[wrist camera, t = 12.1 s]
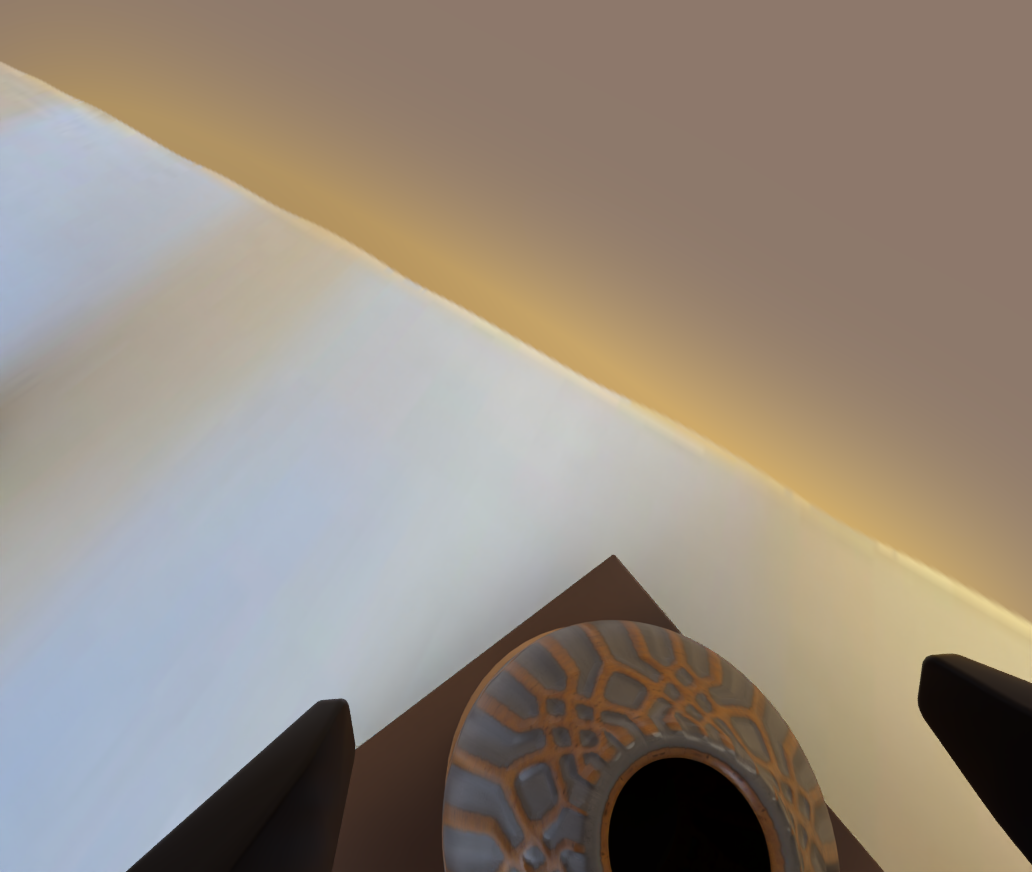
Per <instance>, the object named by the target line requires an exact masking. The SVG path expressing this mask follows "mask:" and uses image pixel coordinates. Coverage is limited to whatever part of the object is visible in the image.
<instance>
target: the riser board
mask: <svg viewBox="0 0 1032 872" xmlns="http://www.w3.org/2000/svg"><path fill="white" fill-rule="evenodd" d="M599 620H625V621H634V622H641V623H646V624H651V625H655V626H658V627H662V628H665V629H668V630H671V631H674V632H676V633H679V634H681V635H682V633H681V632H680V631H679V630H678V629H677V627H676V626H675V625H674V624H673V623H672V622H671V620H670V619H669V618H668V617H667V616H666V615H665V613H664V612H663V611H662V610H661V609H660V607H659V606H658V605H657V604H656V603H655V602H654V600H653V599H652V598H651V597H650V596H649V595H648V593H647V592H646V591H645V590H644V589H643V587H642V586H641V585H640V584H639V583H638V582H637V580H636V579H635V578H634V577H633V576H632V575H631V573H630V572H629V571H628V570H627V569H626V567H625V566H624V565H623V564H622V563H621V562H620V560H619V559H618V558H617V557H616V556H615V555H612V556H610V557H609V558H608V559H606V560H605V561H604V562H602V563H601V564H600V565H598V566H597V567H596V568H594V569H593V570H592V571H590V572H589V573H588V574H586V575H585V576H584V577H583V578H581V579H580V580H579V581H577V582H576V583H575V584H573V585H572V586H571V587H569V588H568V589H567V590H565V591H564V592H563V593H561V594H560V595H559V596H557V597H556V598H555V599H553V600H552V601H551V602H550V603H548V604H547V605H546V606H544V607H543V608H542V609H540V610H539V611H538V612H536V613H535V614H534V615H532V616H531V617H530V618H528V619H527V620H526V621H524V622H523V623H522V624H520V625H519V626H518V627H517V628H515V629H514V630H513V631H511V632H510V633H509V634H507V635H506V636H505V637H503V638H502V639H501V640H499V641H498V642H497V643H495V644H494V645H493V646H491V647H490V648H489V649H487V650H486V651H485V652H484V653H482V654H481V655H480V656H478V657H477V658H476V659H474V660H473V661H472V662H470V663H469V664H468V665H466V666H465V667H464V668H462V669H461V670H460V671H458V672H457V673H456V674H454V675H453V676H452V677H451V678H449V679H448V680H447V681H445V682H444V683H443V684H441V685H440V686H439V687H437V688H436V689H435V690H433V691H432V692H431V693H429V694H428V695H427V696H425V697H424V698H423V699H421V700H420V701H419V702H418V703H416V704H415V705H414V706H412V707H411V708H410V709H408V710H407V711H406V712H404V713H403V714H402V715H400V716H399V717H398V718H396V719H395V720H394V721H392V722H391V723H390V724H388V725H387V726H386V727H385V728H383V729H382V730H381V731H379V732H378V733H377V734H375V735H374V736H373V737H371V738H370V739H369V740H367V741H366V742H365V743H363V744H362V745H361V746H359V747H358V748H357V749H355V758H354V764H353V769H352V774H351V779H350V784H349V788H348V793H347V798H346V803H345V808H344V813H343V818H342V823H341V828H340V833H339V838H338V843H337V848H336V853H335V858H334V862H333V867H332V871H331V872H445V871H444V861H443V850H442V811H443V800H444V791H445V785H446V779H447V774H448V769H449V765H450V761H451V757H452V754H453V751H454V747H455V744H456V741H457V739H458V736H459V733H460V731H461V728H462V726H463V724H464V722H465V720H466V717H467V715H468V714H469V712H470V710H471V708H472V706H473V704H474V703H475V701H476V700H477V698H478V696H479V695H480V693H481V692H482V690H483V689H484V688H485V686H486V685H487V684H488V682H489V681H490V680H491V679H492V677H493V676H494V675H495V674H496V673H497V672H498V671H499V670H500V669H501V668H502V667H503V666H504V665H505V664H506V663H507V662H508V661H509V660H510V659H511V658H512V657H514V656H515V655H516V654H517V653H518V652H520V651H521V650H523V649H524V648H525V647H527V646H528V645H530V644H531V643H533V642H535V641H536V640H538V639H540V638H541V637H544V636H546V635H548V634H550V633H552V632H554V631H557V630H559V629H562V628H565V627H568V626H572V625H575V624H580V623H584V622H591V621H599ZM826 806H827V809H828V813H829V816H830V820H831V823H832V827H833V832H834V837H835V841H836V846H837V853H838V859H839V867H840V872H884V871H883V870H882V869H881V867H880V866H879V865H878V864H877V863H876V862H875V860H874V859H873V858H872V857H871V856H870V855H869V853H868V852H867V851H866V850H865V849H864V847H863V846H862V845H861V844H860V843H859V842H858V840H857V839H856V838H855V837H854V836H853V835H852V833H851V832H850V831H849V830H848V829H847V827H846V826H845V825H844V824H843V823H842V822H841V820H840V819H839V818H838V817H837V816H836V815H835V813H834V812H833V811H832V810H831V809H830V807H829V806H828V805H827V804H826Z"/></svg>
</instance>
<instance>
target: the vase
mask: <svg viewBox="0 0 1032 872" xmlns="http://www.w3.org/2000/svg"><path fill="white" fill-rule="evenodd" d="M442 850H443V861H444V871H445V872H840V867H839V859H838V853H837V846H836V841H835V837H834V832H833V827H832V823H831V820H830V816H829V813H828V809H827V806H826V803H825V800H824V797H823V795H822V792H821V789H820V786H819V784H818V782H817V779H816V777H815V774H814V772H813V770H812V768H811V766H810V763H809V761H808V759H807V757H806V755H805V753H804V752H803V750H802V748H801V746H800V744H799V743H798V741H797V739H796V737H795V736H794V734H793V733H792V731H791V730H790V728H789V727H788V725H787V723H786V722H785V721H784V719H783V718H782V717H781V715H780V714H779V712H778V711H777V710H776V709H775V707H774V706H773V705H772V704H771V703H770V701H769V700H768V699H767V698H766V697H765V696H764V695H763V693H762V692H761V691H760V690H759V689H758V688H757V687H756V686H755V685H754V684H753V683H752V682H751V681H750V680H749V679H748V678H747V677H746V676H744V675H743V674H742V673H741V672H740V671H739V670H738V669H736V668H735V667H734V666H733V665H732V664H730V663H729V662H728V661H726V660H725V659H724V658H722V657H721V656H719V655H718V654H716V653H715V652H713V651H712V650H710V649H709V648H707V647H705V646H703V645H702V644H700V643H698V642H696V641H694V640H692V639H690V638H688V637H685V636H683V635H681V634H679V633H676V632H674V631H671V630H668V629H665V628H662V627H658V626H655V625H651V624H646V623H641V622H634V621H625V620H599V621H591V622H584V623H580V624H575V625H572V626H568V627H565V628H562V629H559V630H557V631H554V632H552V633H550V634H548V635H546V636H544V637H541V638H540V639H538V640H536V641H535V642H533V643H531V644H530V645H528V646H527V647H525V648H524V649H523V650H521V651H520V652H518V653H517V654H516V655H515V656H514V657H512V658H511V659H510V660H509V661H508V662H507V663H506V664H505V665H504V666H503V667H502V668H501V669H500V670H499V671H498V672H497V673H496V674H495V675H494V676H493V677H492V679H491V680H490V681H489V682H488V684H487V685H486V686H485V688H484V689H483V690H482V692H481V693H480V695H479V696H478V698H477V700H476V701H475V703H474V704H473V706H472V708H471V710H470V712H469V714H468V715H467V717H466V720H465V722H464V724H463V726H462V728H461V731H460V733H459V736H458V739H457V741H456V744H455V747H454V751H453V754H452V757H451V761H450V765H449V769H448V774H447V779H446V785H445V791H444V800H443V811H442Z"/></svg>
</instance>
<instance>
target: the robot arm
mask: <svg viewBox="0 0 1032 872" xmlns="http://www.w3.org/2000/svg"><path fill="white" fill-rule="evenodd" d="M918 706H919V709H920V712H921V714H922V716H923V718H924V719H925V721H926V722H927V724H928V725H929V727H930V728H931V729H932V731H933V732H934V734H935V735H936V736H937V738H938V739H939V741H940V742H941V744H942V745H943V746H944V748H945V749H946V751H947V752H948V754H949V755H950V756H951V758H952V759H953V761H954V762H955V763H956V765H957V766H958V768H959V769H960V771H961V772H962V773H963V775H964V776H965V778H966V779H967V780H968V782H969V783H970V785H971V786H972V788H973V789H974V790H975V792H976V793H977V795H978V796H979V797H980V799H981V800H982V802H983V803H984V805H985V806H986V807H987V809H988V810H989V811H990V813H991V814H992V815H993V817H994V818H995V820H996V821H997V822H998V824H999V825H1000V826H1001V827H1002V829H1003V830H1004V831H1005V832H1006V834H1007V835H1008V836H1009V837H1010V839H1011V840H1012V841H1013V842H1014V844H1015V845H1016V846H1017V847H1018V849H1019V850H1020V851H1021V852H1022V853H1023V855H1024V856H1025V857H1026V858H1027V860H1028V861H1029V862H1030V863H1031V864H1032V683H1030V682H1027V681H1025V680H1022V679H1020V678H1017V677H1015V676H1012V675H1009V674H1007V673H1004V672H1002V671H999V670H997V669H994V668H991V667H989V666H986V665H984V664H981V663H979V662H976V661H973V660H971V659H968V658H966V657H963V656H961V655H957V654H939V655H930V656H928V657H926V658H925V660H924V661H923V664H922V670H921V678H920V685H919V692H918ZM354 758H355V740H354V734H353V727H352V721H351V715H350V709H349V705H348V703H347V701H346V700H344V699H329V700H321V701H318V702H317V703H316V704H314V705H313V706H312V707H311V708H310V709H309V710H308V711H306V712H305V713H304V714H303V715H302V716H301V717H300V718H299V719H297V720H296V721H295V722H294V723H293V724H292V725H291V726H290V727H288V728H287V729H286V730H285V731H284V732H283V733H282V734H281V735H279V736H278V737H277V738H276V739H275V740H274V741H273V742H272V743H270V744H269V745H268V746H267V747H266V748H265V749H264V750H263V751H261V752H260V753H259V754H258V755H257V756H256V757H255V758H254V759H252V760H251V761H250V762H249V763H248V764H247V765H246V766H244V767H243V768H242V769H241V770H240V771H239V772H238V773H237V774H235V775H234V776H233V777H232V778H231V779H230V780H229V781H228V782H226V783H225V784H224V785H223V786H222V787H221V788H220V789H219V790H217V791H216V792H215V793H214V794H213V795H212V796H211V797H210V798H208V799H207V800H206V801H205V802H204V803H203V804H202V805H201V806H199V807H198V808H197V809H196V810H195V811H194V812H193V813H192V814H190V815H189V816H188V817H187V818H186V819H185V820H184V821H183V822H181V823H180V824H179V825H178V826H177V827H176V828H175V829H173V830H172V831H171V832H170V833H169V834H168V835H167V836H166V837H164V838H163V839H162V840H161V841H160V842H159V843H158V844H157V845H155V846H154V847H153V848H152V849H151V850H150V851H149V852H148V853H146V854H145V855H144V856H143V857H142V858H141V859H140V860H139V861H137V862H136V863H135V864H134V865H133V866H132V867H131V868H130V869H128V870H127V871H126V872H331V871H332V867H333V862H334V858H335V853H336V848H337V843H338V838H339V833H340V828H341V823H342V818H343V813H344V808H345V803H346V798H347V793H348V788H349V784H350V779H351V774H352V769H353V764H354Z"/></svg>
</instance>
